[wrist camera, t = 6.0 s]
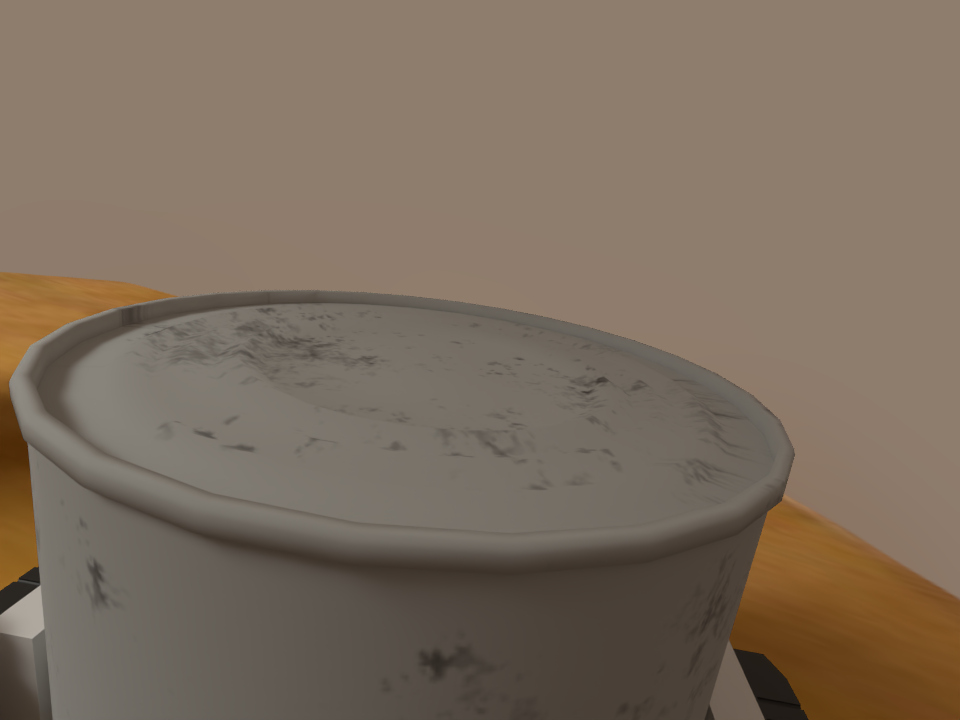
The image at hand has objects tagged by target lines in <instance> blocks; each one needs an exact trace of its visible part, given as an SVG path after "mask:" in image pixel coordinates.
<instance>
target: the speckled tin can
mask: <svg viewBox="0 0 960 720" xmlns="http://www.w3.org/2000/svg"><path fill="white" fill-rule="evenodd" d="M9 387H10V397H11V401H12V404H13V407H14V410H15V413H16V417H17V420H18V423H19V426H20V430H21V433H22V436H23V439H24V440H25V441H26V442H27V443H28V453H29V464H30V475H31V486H32V497H33V508H34V518H35V529H36V540H37V551H38V562H39V573H40V584H41V595H42V606H43V617H44V628H45V639H46V650H47V661H48V672H49V683H50V694H51V705H52V716H53V720H705V716H706V713H707V710H708V706H709V703H710V700H711V697H712V693H713V690H714V687H715V683H716V680H717V677H718V673H719V670H720V667H721V664H722V660H723V657H724V654H725V650H726V647H727V644H728V640H729V637H730V634H731V630H732V627H733V624H734V621H735V617H736V614H737V611H738V607H739V604H740V601H741V597H742V594H743V591H744V588H745V584H746V581H747V578H748V574H749V571H750V568H751V564H752V561H753V558H754V554H755V551H756V548H757V545H758V541H759V538H760V535H761V531H762V528H763V525H764V521H765V518H766V515H767V512H768V511H769V510H770V509H772V508H773V507H774V506H776V505H777V504H778V503H779V502H781V501H782V497H783V494H784V491H785V488H786V484H787V481H788V477H789V474H790V470H791V467H792V463H793V460H794V456H795V453H794V448H793V446H792V444H791V442H790V440H789V438H788V435H787V433H786V431H785V429H784V427H783V425H782V423H781V421H780V420H779V419H778V418H777V417H776V416H775V415H774V414H773V413H772V412H771V411H770V410H768V409H767V408H766V407H765V406H764V405H763V404H762V403H761V402H759V401H758V400H757V399H756V398H755V397H754V396H753V395H751V394H750V393H748V392H746V391H745V390H743V389H741V388H740V387H738V386H736V385H735V384H733V383H731V382H730V381H728V380H726V379H725V378H723V377H721V376H720V375H718V374H716V373H714V372H712V371H710V370H707V369H705V368H703V367H701V366H699V365H696V364H694V363H692V362H689V361H687V360H685V359H683V358H681V357H679V356H676V355H673V354H671V353H668V352H665V351H662V350H659V349H656V348H654V347H651V346H648V345H646V344H643V343H640V342H637V341H634V340H631V339H627V338H624V337H620V336H617V335H614V334H610V333H607V332H603V331H600V330H597V329H593V328H589V327H585V326H581V325H577V324H572V323H568V322H565V321H560V320H556V319H552V318H548V317H543V316H538V315H533V314H528V313H522V312H517V311H512V310H507V309H501V308H495V307H489V306H482V305H476V304H469V303H463V302H456V301H448V300H439V299H431V298H422V297H414V296H403V295H391V294H378V293H365V292H342V291H319V290H264V291H244V292H226V293H225V292H224V293H211V294H201V295H192V296H183V297H174V298H165V299H159V300H154V301H149V302H144V303H139V304H134V305H129V306H124V307H119V308H113V309H110V310H107V311H104V312H101V313H98V314H95V315H92V316H89V317H86V318H83V319H80V320H77V321H74V322H71V323H68V324H66V325H64V326H62V327H61V328H59V329H57V330H56V331H54V332H52V333H51V334H49V335H47V336H46V337H44V338H42V339H41V340H39V341H37V342H36V343H34V344H32V345H31V346H30V347H29V349H28V350H27V352H26V354H25V355H24V357H23V359H22V360H21V362H20V364H19V365H18V367H17V369H16V370H15V372H14V373H13V375H12V377H11V379H10V382H9Z"/></svg>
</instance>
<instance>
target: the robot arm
mask: <svg viewBox="0 0 960 720" xmlns="http://www.w3.org/2000/svg"><path fill="white" fill-rule="evenodd" d="M800 706H801V705H800V703H799V701H798V699H797V697H796V696H795V694H794V692H793V690H792V688H791V686H790V684H789V682H788V681H787V679H786V678H785V677H784V676H783V674H782V673H781V672H780V671H779V670H778V669H777V668H776V667H775V666H774V665H773V664H772V663H771V662H770V661H769V660H768V659H767V658H766V657H765V656H764V655H763V654H759V653H754V652H748V651H743V650H737V649H733V648H732V646H731V643H730V641H729V640H728V644H727V647H726V650H725V654H724V657H723V660H722V664H721V667H720V670H719V673H718V677H717V680H716V683H715V687H714V690H713V693H712V697H711V700H710V703H709V706H708V710H707V713H706V716H705V720H808V718H807V716H806V714H805V712H804V710H801V708H800ZM0 720H53V716H52V705H51V694H50V683H49V672H48V661H47V650H46V639H45V628H44V617H43V606H42V595H41V584H40V573H39V567H38V568H37V567H34V568H33V569H31V570H30V571H28V572H27V573H26V574H24V575H23V576H21V577H20V578H19V580H18V581H17V582H13V583H11V584H10V585H8V586H7V587H5V588H4V589H2V590H1V591H0Z"/></svg>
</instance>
